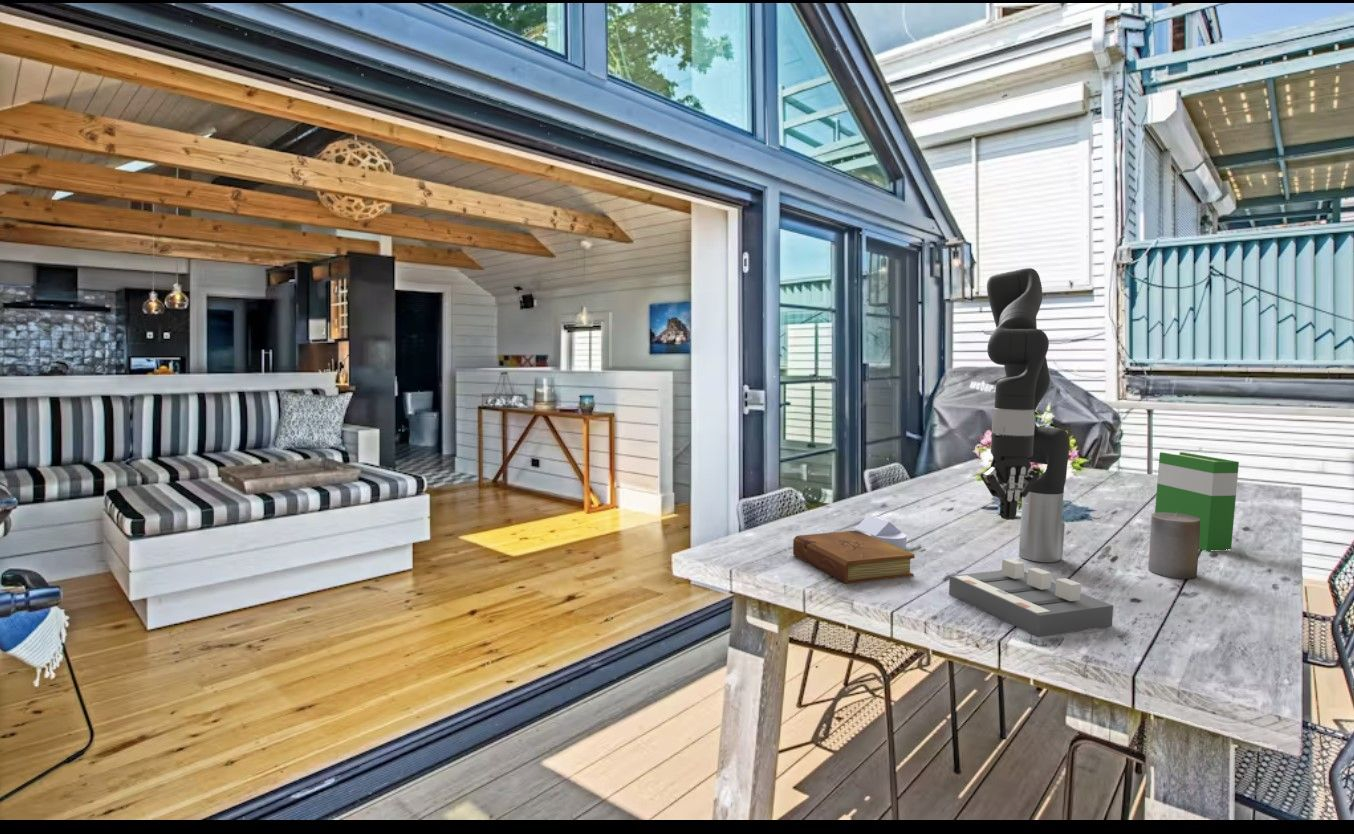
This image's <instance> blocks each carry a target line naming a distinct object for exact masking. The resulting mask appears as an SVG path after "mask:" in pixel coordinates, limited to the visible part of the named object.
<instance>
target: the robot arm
mask: <svg viewBox="0 0 1354 834" xmlns="http://www.w3.org/2000/svg"><path fill="white" fill-rule="evenodd" d="M986 282H987V283H986V293H987V298H988V302H989V306H990V310H991V313H992V316H993V320H994V324H995V327H996V328H995V329H994V330H993V331H992V332H991V334H990V337H989V340H988V342H987V355H988V358H989V359H990V361H991V362H992V363H994V364H996V365H999V366H1003V368H1004V372H1005V377H1004V378H1000V379H998V380H997V382H996V383H995V390H994V391H995V392H994V393H995V394H994V408H993V413H992V422H991V423H992V424H991V435H990V436H991V437H990V439H991V441H990V454H991V455H992V460H991V463H990V469H988V470H987V471H986V472H981V474H980V479H981V480H982V481H983V484H984V485H985V486H986V488H987V490H988V491H989V493H990V495H991V496H992V497H993V498H994V497H995V498H997V499H999V515H1000V518H1001V519H1003V520H1006V521H1011V520H1015V519H1016V516H1017V511H1018V510H1017V509H1018V501H1019V500H1020V499H1021V514H1020V517H1021V518H1020V529H1019V530H1020V533H1019V548H1018V556H1019V557H1020V558H1023V559H1024V560H1029V561H1033V562H1038V563H1056V562H1059V561H1060V560H1063V559H1064V558H1063V557H1064V556H1063V555H1064V541H1065V540H1064V538H1065V526H1066V525H1065V524H1066V523H1065V521H1063V510H1064V509H1063V508H1064V493H1065V485H1066V480H1067V475H1068V474H1067V473H1068V472H1067V471H1068V465H1069V464H1068V463H1069V455H1070V449H1071V448H1070V447H1071V446H1070V445H1071V444H1070V443H1071V442H1070V435H1069V433H1068V431H1067V430H1065V429H1062V428H1059V427H1058V428H1057V427H1045V426H1038V425H1037V423H1036V420H1035V419H1036V418H1035V415H1036V413H1035V412H1036V410H1037V407H1038V405H1039V404H1040V402H1041V401H1042V399H1043V398H1044V396H1045V395H1046V393H1047V391H1048V390H1049V389H1048V388H1049V386H1050V383H1051V378H1050V377H1051V376H1050V371H1049V366H1048V360H1047V357H1046V356H1047V353H1048V351H1049V347H1050V343H1049V342H1050V341H1049V338H1048V336H1047V334H1046V333H1045V332H1044V330H1041V329H1038V328H1037V327H1038V326H1037V325H1038V324H1037V315H1038V313H1039V311H1040V308H1041V305H1042V302H1043V287H1042V281H1041V277H1040V275H1039V273H1038V271H1037V270H1035V268H1030V267H1029V268H1021V269H1016V270H1012V271H1011V270H1010V271H1008V272H1002V273H998V274H995V275H992V276H990V277H988V279H987V281H986ZM1031 463H1032V464H1033V463H1034V464H1040V465H1046V469H1045V471H1044V472H1042V473H1040V472H1039V471H1035V470H1034V469H1033V468H1032V467H1031V466H1032V465H1031Z"/></svg>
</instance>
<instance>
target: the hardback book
mask: <svg viewBox="0 0 1354 834" xmlns="http://www.w3.org/2000/svg"><path fill="white" fill-rule="evenodd" d="M1158 456H1159V457H1158V458H1159V459H1158V467H1157V469H1158V470H1157V471H1158V473H1157V483H1156V484H1157V485H1156V497H1155V505H1154V506H1155V507H1154V508H1155V509H1154V513H1162V512H1164V513H1176V512H1177V511H1178V512H1177V513H1178V514H1185V515H1190V516H1194V517H1197V518H1199V519H1200V538H1199V550H1200V549H1202V550H1201V551H1203V550H1206V551H1205V552H1207V551H1208V552H1212V551H1211V550H1226V549H1227V550H1228V549H1231V550H1232V545H1233V544H1232V543H1233V532H1234V522H1235V521H1234V520H1235V510H1236V500H1237V499H1236V497H1237V488H1238V475H1239V467H1240V465H1239V464H1240V461H1236V460H1230V459H1225V458H1218V457H1214V456H1213V457H1212V456H1206V455H1201V454H1195V453H1189V452H1182V451H1181V452H1179V454H1174V453H1168V452H1162V451H1160V452H1159V455H1158Z"/></svg>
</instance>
